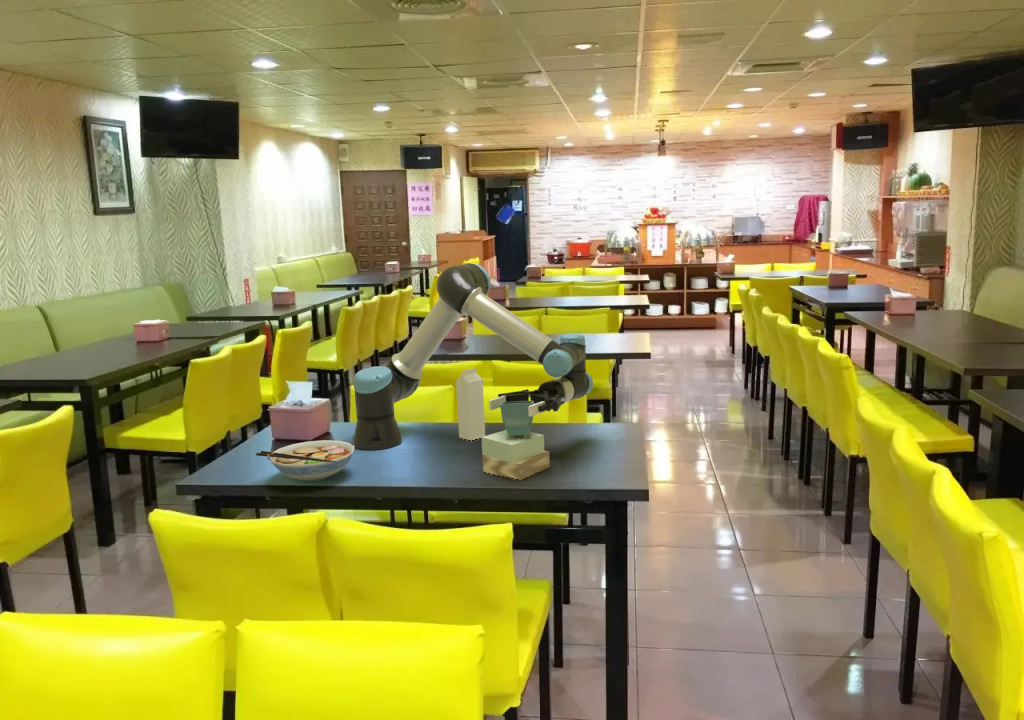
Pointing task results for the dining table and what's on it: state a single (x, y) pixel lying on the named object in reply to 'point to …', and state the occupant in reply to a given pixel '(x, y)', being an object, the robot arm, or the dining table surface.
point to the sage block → (512, 446)
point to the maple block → (516, 466)
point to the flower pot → (516, 417)
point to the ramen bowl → (311, 459)
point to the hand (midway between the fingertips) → (509, 408)
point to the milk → (470, 405)
